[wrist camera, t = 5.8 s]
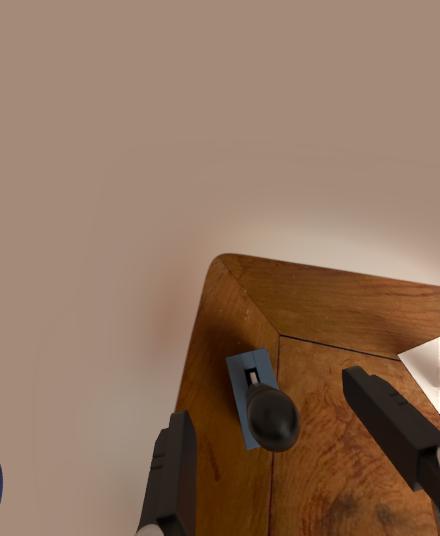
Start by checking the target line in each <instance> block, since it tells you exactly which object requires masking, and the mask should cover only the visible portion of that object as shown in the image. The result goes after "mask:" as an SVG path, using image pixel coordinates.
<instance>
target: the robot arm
mask: <svg viewBox="0 0 440 536" xmlns="http://www.w3.org/2000/svg"><path fill="white" fill-rule="evenodd" d="M342 381H343V393H344V396H345V399H346V401H347V403H348V404H349V406H350V407H351V409H352V410H353V411H354V413H355V414H356V415H357V417H358V418H359V419H360V421H361V422H362V423H363V425H364V426H365V427H366V429H367V430H368V431H369V433H370V434H371V435H372V437H373V438H374V439H375V441H376V442H377V444H378V445H379V446H380V448H381V449H382V450H383V452H384V453H385V454H386V456H387V457H388V458H389V460H390V461H391V462H392V464H393V465H394V466H395V468H396V469H397V470H398V472H399V473H400V475H401V476H402V477H403V479H404V480H405V481H406V483H407V484H408V485H409V487H410V488H411V489H412V491H413V492H415V491H418V490H422V489H424V491H425V492H426V493H427V494H428V496H429V497H430V498H431V503H432V509H433V513H434V518H435V523H436V527H437V532H438V536H440V431H439V430H438V429H437V428H436V427H435V426H434V425H433V424H432V423H431V422H430V421H428V420H427V419H426V418H425V417H424V416H423V415H422V414H421V413H420V412H419V411H418V410H417V409H416V408H415V407H414V406H413V405H412V404H409V402H408V401H407V400H406V399H405V398H404V397H403V396H402V395H400V394H399V392H398V391H397V390H396V389H395V388H394V387H392V386H391V385H390V384H389V383H388V382H387V381H385V380H383V379H381V378H380V377H378V376H376V375H375V374H374V375H371V376H369V375H368V374H367V373H366V372H365V371H364V370H363V369H362V368H361V367H359V366H354V367H350V368H346V369H343V370H342ZM196 468H197V439H196V433H195V429H194V426H193V424H192V421H191V419H190V416H189V413H188V411H187V410H183V411H179V412H175V413H172V414H171V417H170V422H169V428H166V429H162V430H161V432H160V434H159V436H158V438H157V440H156V442H155V446H154V452H153V459H152V462H151V467H150V472H149V478H148V483H147V488H146V493H145V498H144V503H143V508H142V513H141V519H140V523H139V526H138V529H137V532H136V534H135V535H134V536H195V523H196Z"/></svg>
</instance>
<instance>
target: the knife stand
mask: <svg viewBox="0 0 440 536" xmlns="http://www.w3.org/2000/svg"><path fill="white" fill-rule="evenodd" d="M226 361H227V366H228V370H229V375H230V379H231V383H232V388H233V392H234V397H235V401H236V406H237V410H238V414H239V419H240V423H241V428H242V432H243V437H244V441H245V446H246V449H247V450H249V449H253V448H256V447H260V445H259V444H258V443H257V442H256V440H255V439H254V438H253V436H252V434H251V432H250V430H249V427H248V422H247V412H246V399H245V398H246V392H247V390H248V388H249V387H248V383H247V379H246V375H245V370H249V369H252V368H253V369H254V372H255V375H256V379H257V382H262V383H265V384H267V385H269V386H271V387H274V388H276V389H278V390H279V387H278V384H277V381H276V378H275V375H274V372H273V368H272V365H271V362H270V359H269V356H268V353H267V350H266V347H264V348H261V349H257V350H253V351H249V352H245V353H241V354H238V355H234V356H230V357H226Z"/></svg>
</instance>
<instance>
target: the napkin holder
mask: <svg viewBox="0 0 440 536" xmlns="http://www.w3.org/2000/svg"><path fill="white" fill-rule="evenodd" d="M398 357H399V358H400V359H401V361H402V362H403V364H404V365H405V366H406V368H407V369H408V371H409V372H410V373H411V375H412V376H413V378H414V379H415V380H416V382H417V383H418V385H419V386H420V387H421V389H422V390H423V391H424V393H425V394H426V396H427V397H428V398H429V400H430V401H431V403H432V404H433V405H434V407H435V408H436V410H437V411H438V412H439V414H440V337H439V338H436V339H434V340H431V341H429V342H427V343H424V344H422V345H420V346H417V347H415V348H413V349H410V350H408V351H406V352H403V353H401V354H398Z"/></svg>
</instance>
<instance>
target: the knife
mask: <svg viewBox="0 0 440 536" xmlns="http://www.w3.org/2000/svg"><path fill="white" fill-rule="evenodd" d="M248 375H249V379H250V383H251V385H250V387H249V388H248V390H247V392H246V398H245V399H246V412H247V422H248V427H249V430H250V432H251V434H252V436H253V438H254V439H255V440H256V442H257V443H258V444H259V445H260V446H261V447H263V448H264V449H266V450H268V451H271V452H277V453H278V452H284V451H286V450H288V449H290V448H291V447H292V446H293V445H294V444H295V443H296V441H297V439H298V437H299V433H300V426H301V423H300V416H299V412H298V410H297V408H296V406H295V404H294V403H293V401H292V400H291V399H290V397H289V396H288V395H286V394H285V393H284V392H282V391H280V390H278V389H276V388H274V387H271V386H269V385H267V384H265V383H262V382H257V379H256V375H255V372H253V373H248Z"/></svg>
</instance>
